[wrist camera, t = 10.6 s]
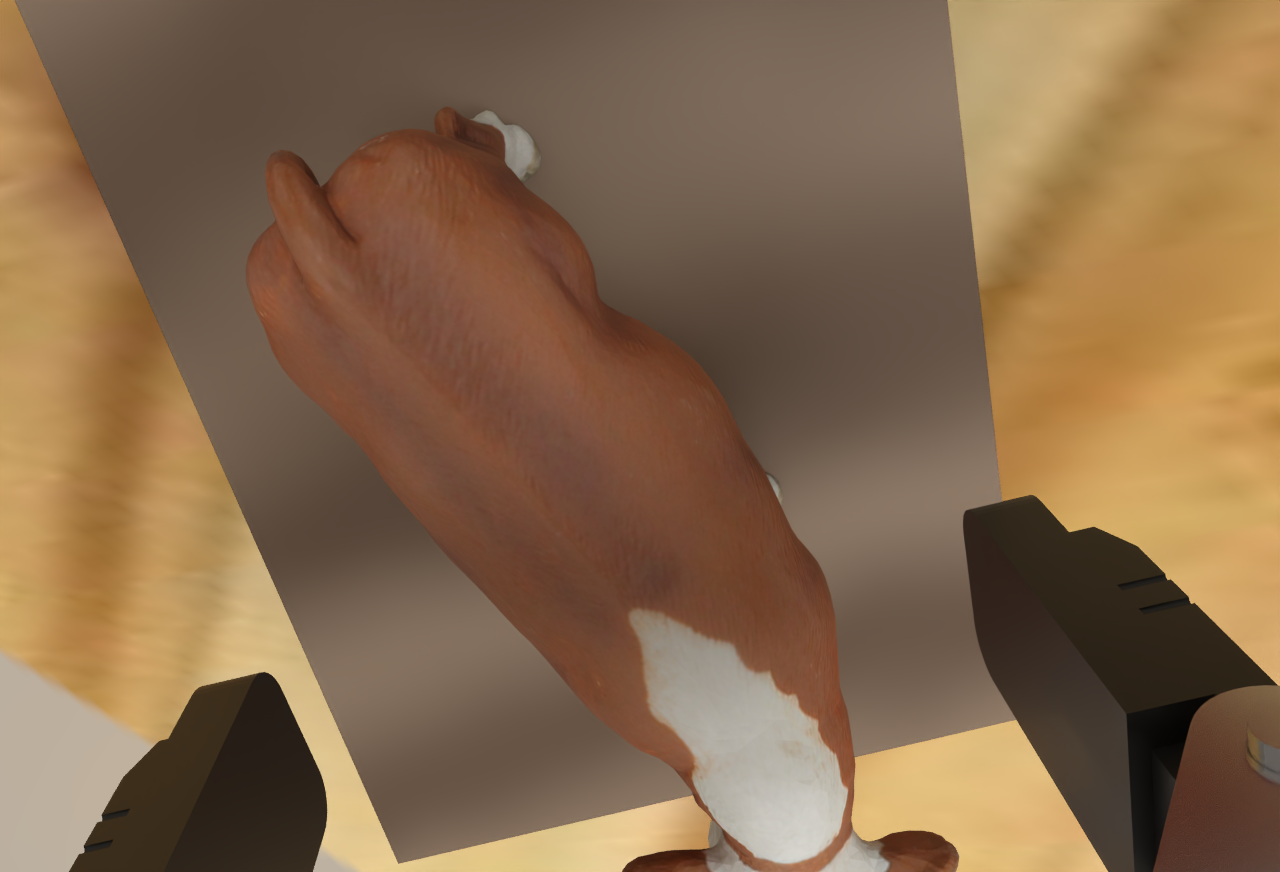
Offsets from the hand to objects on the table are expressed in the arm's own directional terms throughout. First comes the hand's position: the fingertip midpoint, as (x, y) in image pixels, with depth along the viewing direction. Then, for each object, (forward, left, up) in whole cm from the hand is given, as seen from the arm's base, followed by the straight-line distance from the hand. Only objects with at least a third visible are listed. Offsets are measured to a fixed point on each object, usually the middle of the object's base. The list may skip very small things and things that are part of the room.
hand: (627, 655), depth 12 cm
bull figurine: (0, 0, -8) cm, 8 cm away
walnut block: (0, 0, -14) cm, 14 cm away
